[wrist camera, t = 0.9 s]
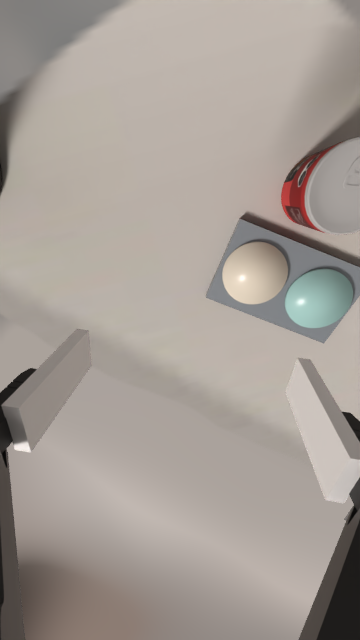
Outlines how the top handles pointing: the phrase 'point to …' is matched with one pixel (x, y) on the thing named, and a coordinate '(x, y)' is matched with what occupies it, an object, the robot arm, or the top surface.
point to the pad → (318, 298)
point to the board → (271, 276)
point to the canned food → (326, 190)
